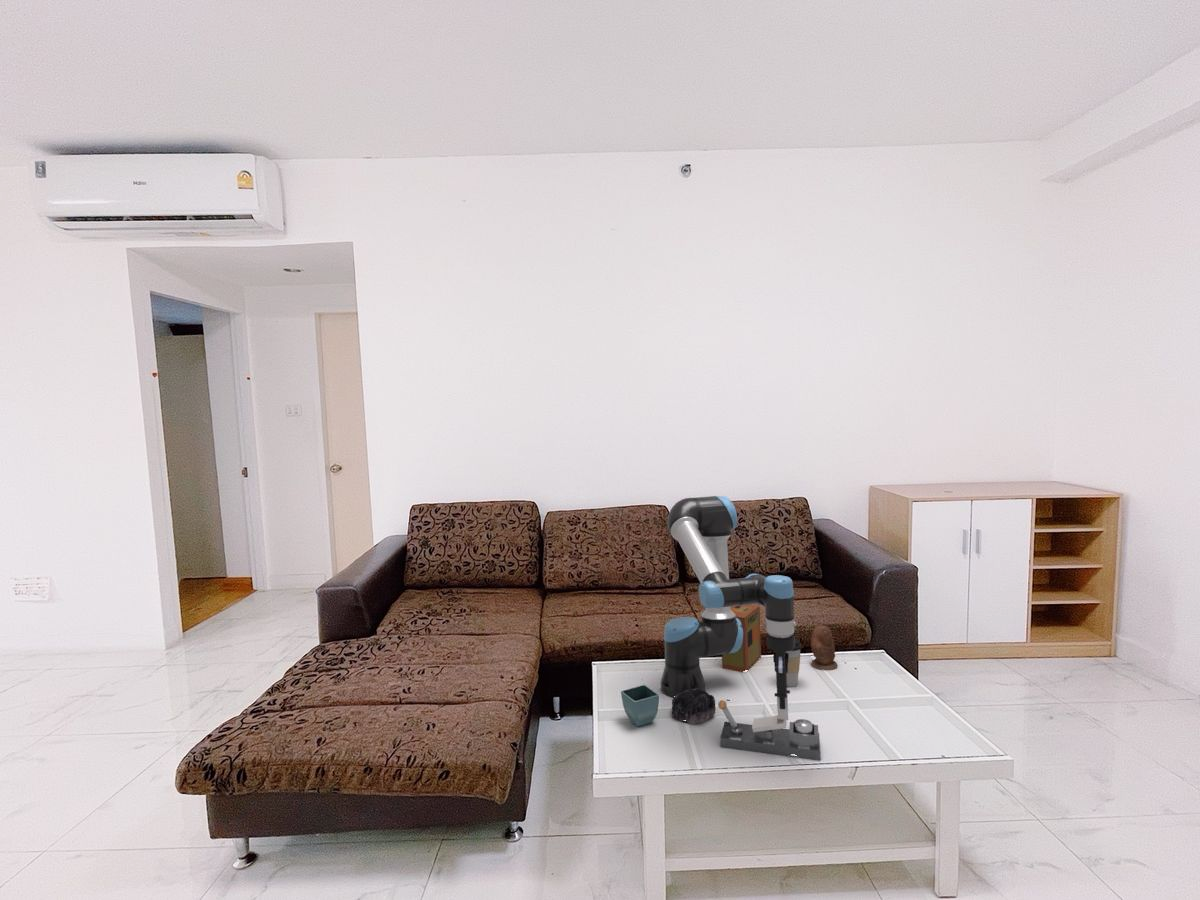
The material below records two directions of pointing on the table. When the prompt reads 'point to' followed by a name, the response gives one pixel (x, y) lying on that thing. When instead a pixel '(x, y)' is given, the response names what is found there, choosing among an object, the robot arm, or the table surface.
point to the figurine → (823, 648)
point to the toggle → (727, 713)
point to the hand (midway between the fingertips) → (783, 718)
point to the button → (803, 726)
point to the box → (745, 639)
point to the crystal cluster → (693, 706)
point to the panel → (772, 740)
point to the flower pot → (640, 704)
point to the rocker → (768, 723)
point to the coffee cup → (793, 664)
